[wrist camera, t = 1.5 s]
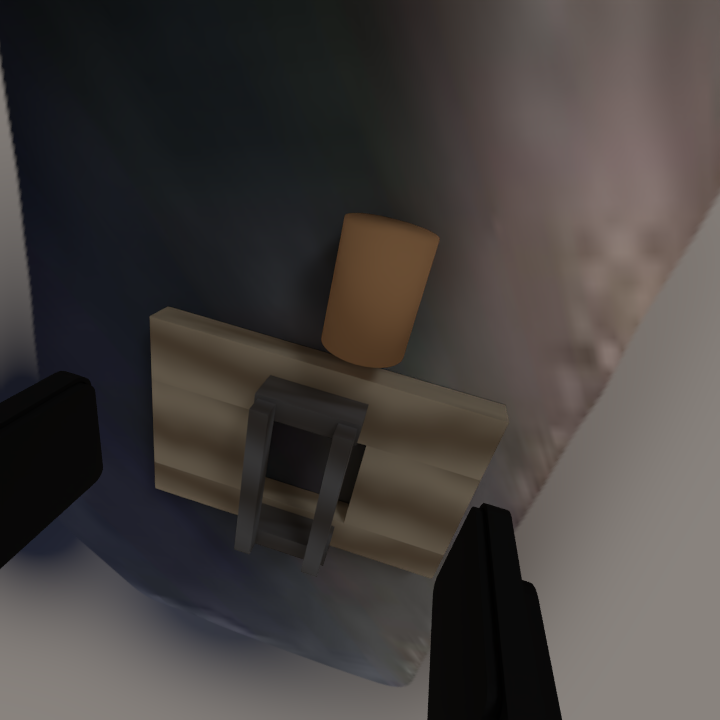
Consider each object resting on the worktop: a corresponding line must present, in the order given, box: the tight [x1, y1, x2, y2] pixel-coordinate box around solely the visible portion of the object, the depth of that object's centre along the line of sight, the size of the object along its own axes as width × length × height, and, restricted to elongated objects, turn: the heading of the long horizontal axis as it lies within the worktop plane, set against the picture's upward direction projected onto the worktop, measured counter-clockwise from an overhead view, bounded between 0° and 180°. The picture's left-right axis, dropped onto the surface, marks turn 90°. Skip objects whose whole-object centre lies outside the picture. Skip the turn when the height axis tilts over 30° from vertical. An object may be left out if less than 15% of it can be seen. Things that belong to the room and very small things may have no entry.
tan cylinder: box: [321, 213, 440, 368], centre depth 23 cm, size 7×5×5 cm
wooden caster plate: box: [150, 307, 509, 579], centre depth 29 cm, size 16×24×6 cm, turn 77°
